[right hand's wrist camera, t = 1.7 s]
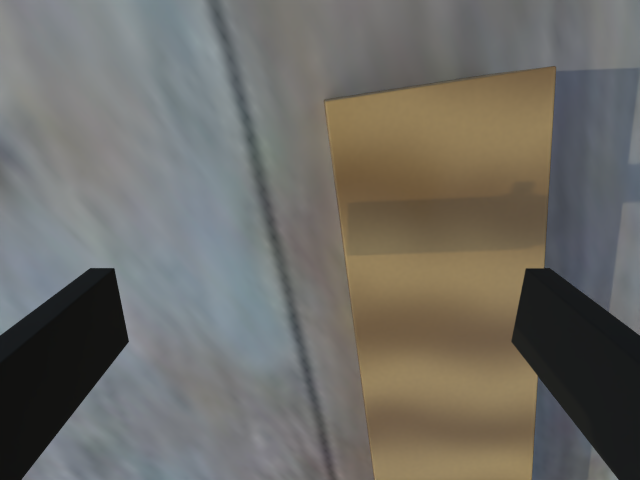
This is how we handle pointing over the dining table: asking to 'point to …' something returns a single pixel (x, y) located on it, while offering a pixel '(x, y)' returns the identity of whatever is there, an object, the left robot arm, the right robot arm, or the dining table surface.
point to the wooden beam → (444, 266)
